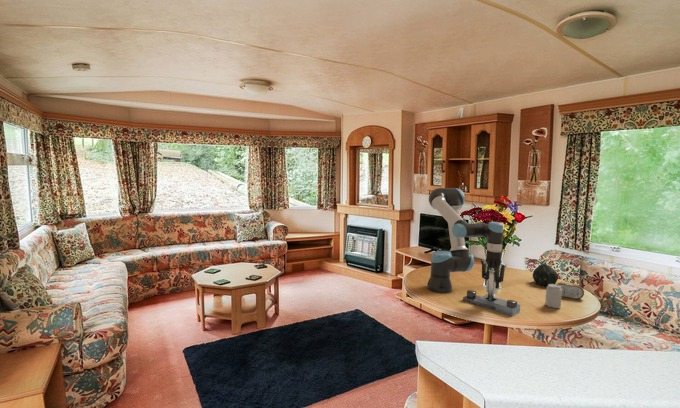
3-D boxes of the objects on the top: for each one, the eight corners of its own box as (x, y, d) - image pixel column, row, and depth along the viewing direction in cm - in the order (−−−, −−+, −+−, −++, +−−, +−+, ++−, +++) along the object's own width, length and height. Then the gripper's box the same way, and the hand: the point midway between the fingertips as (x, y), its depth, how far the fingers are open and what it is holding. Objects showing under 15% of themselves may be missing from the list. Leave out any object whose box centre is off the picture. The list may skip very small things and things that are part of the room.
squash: (560, 275, 247) (544, 257, 249) (564, 282, 233) (548, 263, 235) (541, 286, 252) (526, 269, 254) (544, 294, 238) (528, 275, 240)
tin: (583, 299, 218) (584, 285, 217) (583, 300, 215) (585, 286, 214) (554, 294, 225) (555, 280, 225) (553, 295, 223) (555, 282, 222)
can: (552, 309, 201) (554, 288, 200) (541, 304, 208) (543, 283, 207) (563, 308, 203) (565, 287, 202) (552, 303, 210) (554, 282, 209)
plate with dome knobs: (463, 300, 211) (463, 290, 210) (471, 297, 217) (471, 287, 216) (512, 316, 190) (513, 305, 189) (519, 312, 196) (520, 301, 195)
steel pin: (484, 299, 203) (486, 269, 201) (488, 297, 206) (490, 267, 204) (492, 301, 200) (494, 271, 198) (496, 299, 203) (499, 269, 201)
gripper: (476, 248, 204) (473, 289, 206) (506, 254, 191) (503, 298, 194) (483, 247, 209) (480, 287, 211) (512, 252, 196) (509, 295, 199)
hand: (491, 292), depth 203 cm, fingers closed on steel pin, 3 cm apart
